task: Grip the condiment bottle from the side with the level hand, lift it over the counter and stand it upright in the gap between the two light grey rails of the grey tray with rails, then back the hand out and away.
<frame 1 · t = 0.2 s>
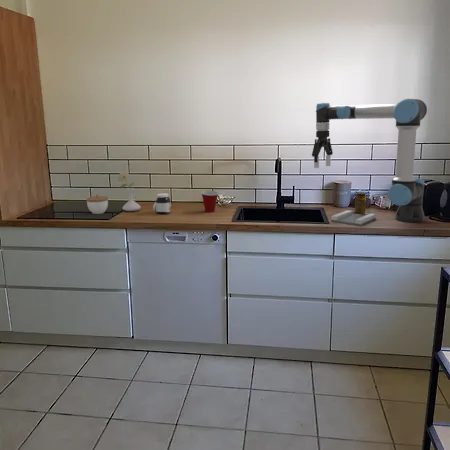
hand: (322, 167, 269), 27 cm above the worktop, tool pointing down, fingers open, 13 cm apart
plastic cup: (210, 211, 281), on the worktop
grey tray with rails: (353, 220, 254), on the worktop
lidded bowl: (98, 213, 280), on the worktop
flower in vase: (130, 210, 285), on the worktop
condiment: (358, 213, 271), on the worktop
spread jar: (161, 213, 278), on the worktop
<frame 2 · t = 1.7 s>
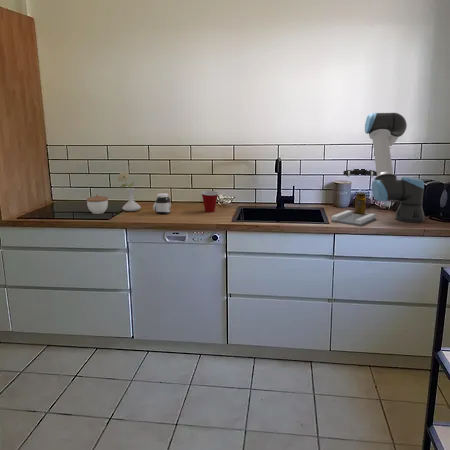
hand: (360, 175, 275), 22 cm above the worktop, tool horizontal, fingers open, 13 cm apart
nothing on the worktop moved.
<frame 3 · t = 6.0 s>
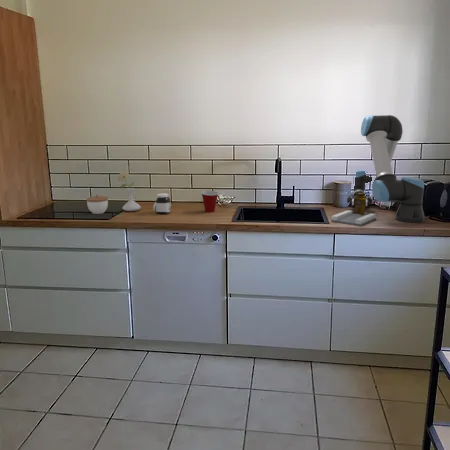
hand: (359, 203, 265), 7 cm above the worktop, tool horizontal, fingers open, 7 cm apart
condiment: (358, 213, 271), on the worktop, touching gripper
everything else where it was.
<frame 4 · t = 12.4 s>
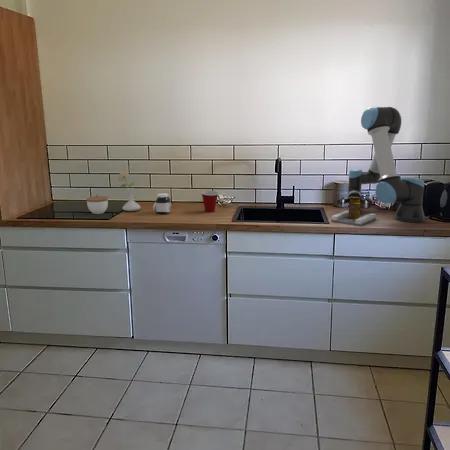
hand: (354, 204, 248), 10 cm above the worktop, tool horizontal, fingers open, 11 cm apart
condiment: (352, 218, 254), point 1 cm above the worktop, touching grey tray with rails
everything else where it was.
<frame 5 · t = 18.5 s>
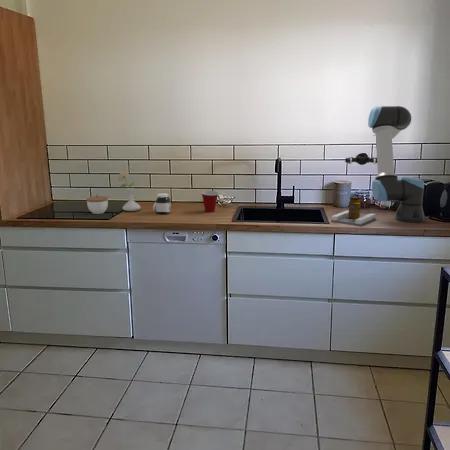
hand: (362, 161, 269), 30 cm above the worktop, tool horizontal, fingers open, 13 cm apart
nothing on the worktop moved.
at the end: condiment inside the target area on the grey tray with rails (0.6 cm from its centre), point 0.8 cm above the grey tray with rails's base; condiment tilted 0°; the gripper is holding nothing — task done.
